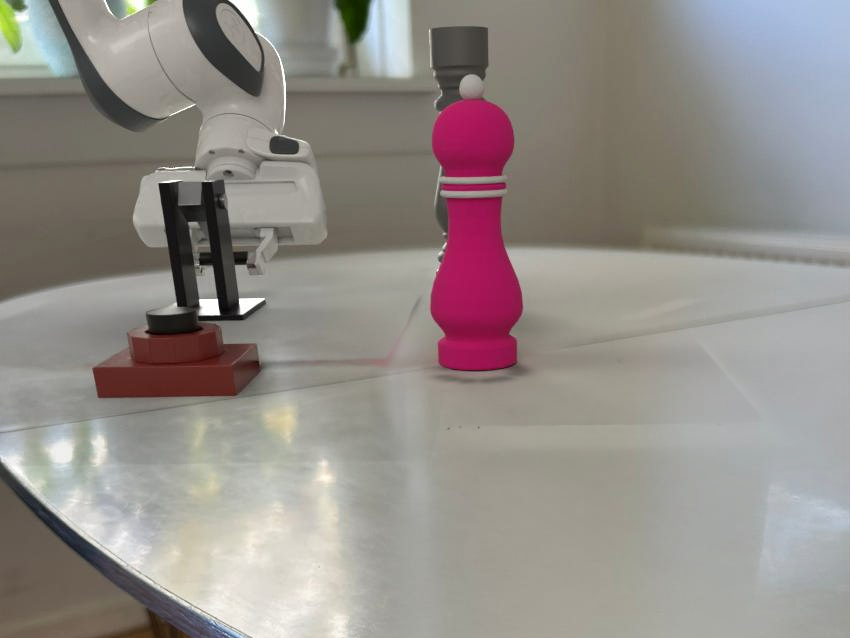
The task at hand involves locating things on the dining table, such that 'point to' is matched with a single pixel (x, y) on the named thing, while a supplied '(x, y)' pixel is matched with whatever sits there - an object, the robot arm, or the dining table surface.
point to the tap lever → (200, 217)
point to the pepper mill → (475, 236)
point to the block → (177, 365)
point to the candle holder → (454, 83)
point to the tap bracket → (221, 253)
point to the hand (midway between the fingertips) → (225, 272)
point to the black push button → (172, 321)
